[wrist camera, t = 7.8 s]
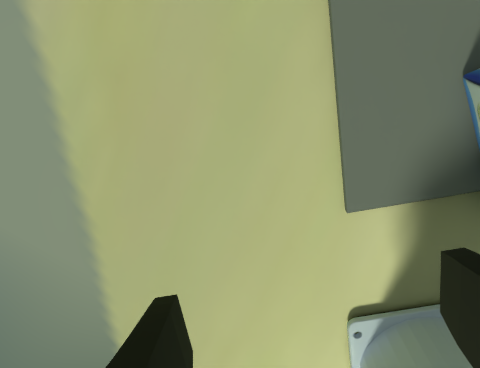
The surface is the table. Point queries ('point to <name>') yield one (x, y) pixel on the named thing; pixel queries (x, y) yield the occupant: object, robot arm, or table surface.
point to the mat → (405, 99)
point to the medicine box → (474, 99)
